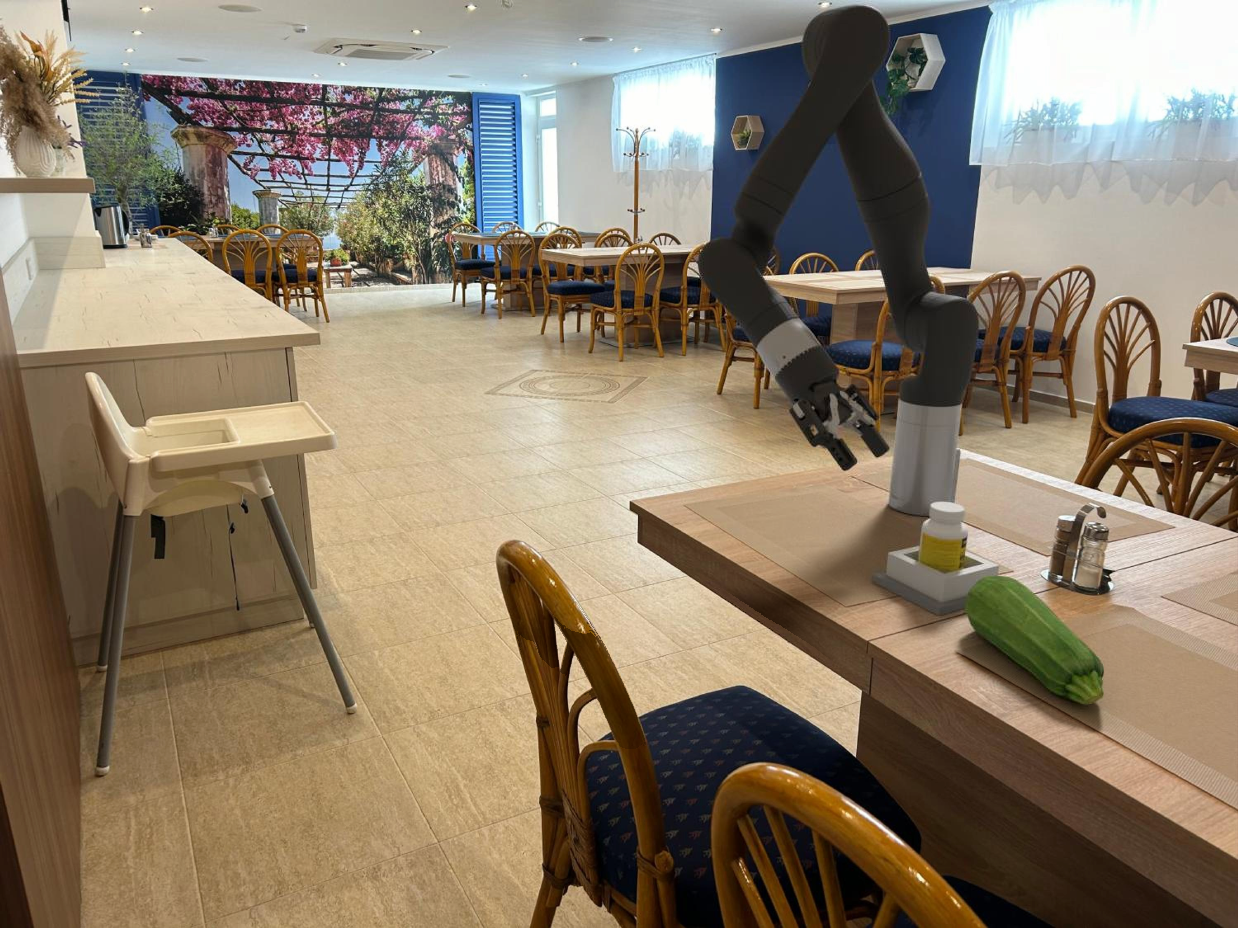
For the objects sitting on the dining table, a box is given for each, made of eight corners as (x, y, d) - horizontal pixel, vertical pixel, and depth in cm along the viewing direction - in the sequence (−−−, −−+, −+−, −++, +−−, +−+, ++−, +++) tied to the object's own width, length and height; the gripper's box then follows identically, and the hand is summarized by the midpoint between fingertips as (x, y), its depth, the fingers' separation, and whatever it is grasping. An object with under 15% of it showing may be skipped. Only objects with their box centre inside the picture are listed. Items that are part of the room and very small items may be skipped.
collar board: (940, 564, 120) (943, 536, 119) (1009, 596, 111) (1013, 565, 110) (872, 581, 115) (874, 552, 113) (938, 615, 105) (942, 584, 104)
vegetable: (1002, 554, 102) (1125, 639, 83) (1020, 604, 104) (1143, 697, 85) (945, 585, 102) (1054, 676, 83) (964, 633, 104) (1075, 733, 85)
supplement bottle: (964, 591, 109) (974, 515, 107) (918, 587, 111) (926, 512, 108) (958, 573, 115) (967, 501, 112) (914, 570, 116) (921, 498, 113)
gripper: (785, 350, 113) (861, 455, 108) (843, 337, 123) (914, 434, 118) (748, 385, 118) (819, 488, 113) (806, 371, 128) (874, 464, 123)
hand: (868, 460), depth 116 cm, fingers open, 8 cm apart
